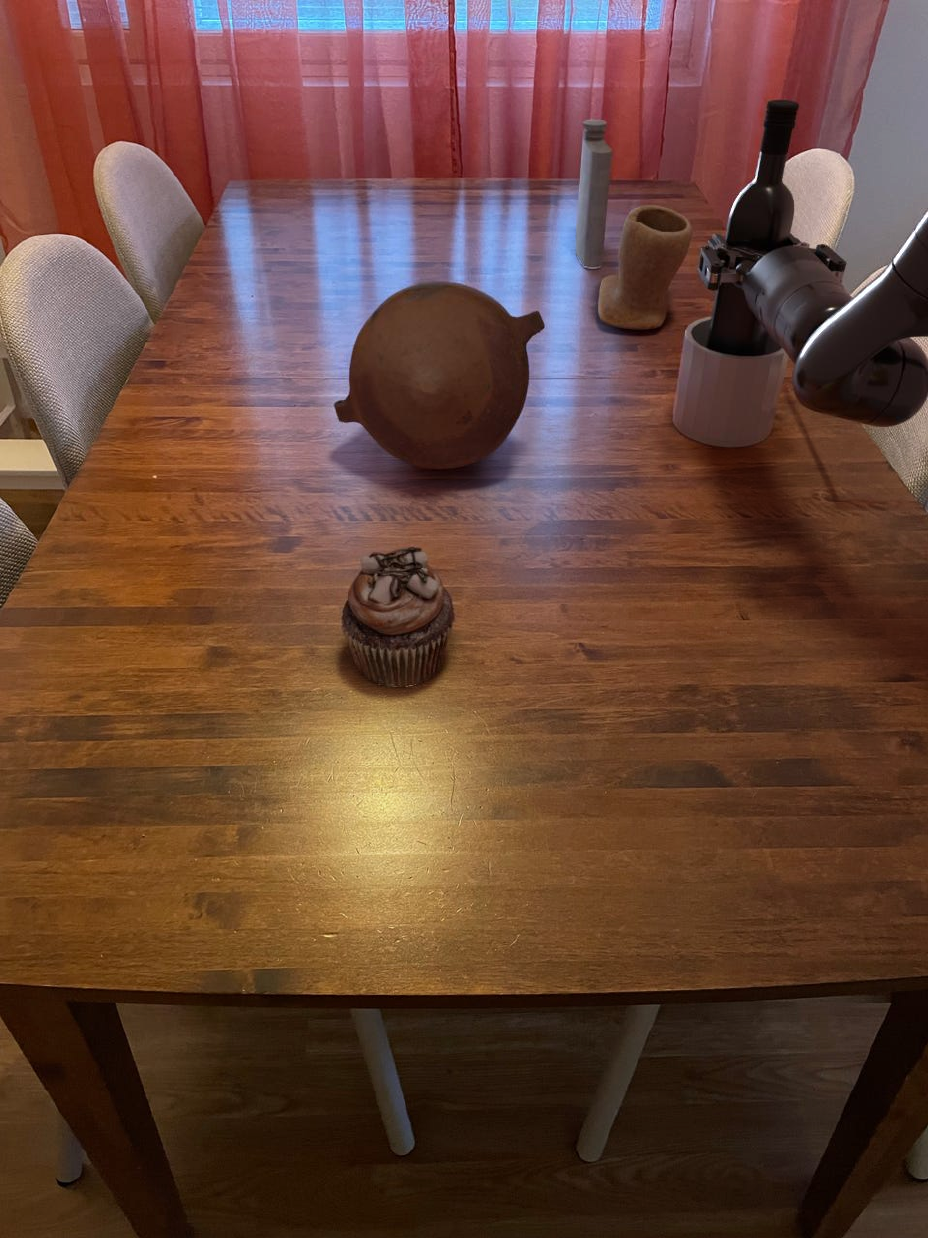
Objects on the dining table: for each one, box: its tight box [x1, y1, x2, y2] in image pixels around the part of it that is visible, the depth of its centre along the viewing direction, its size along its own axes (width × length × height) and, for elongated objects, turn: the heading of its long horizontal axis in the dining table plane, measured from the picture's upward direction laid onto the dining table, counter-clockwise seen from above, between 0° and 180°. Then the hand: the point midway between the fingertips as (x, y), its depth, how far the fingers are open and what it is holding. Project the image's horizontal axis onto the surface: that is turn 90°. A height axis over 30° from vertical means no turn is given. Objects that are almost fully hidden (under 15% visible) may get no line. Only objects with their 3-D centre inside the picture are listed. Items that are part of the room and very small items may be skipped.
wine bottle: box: [706, 99, 800, 356], centre depth 102 cm, size 6×6×30 cm
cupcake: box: [340, 546, 456, 688], centre depth 80 cm, size 10×10×10 cm
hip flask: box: [574, 119, 613, 267], centre depth 152 cm, size 16×4×20 cm, turn 179°
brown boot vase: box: [597, 204, 693, 331], centre depth 134 cm, size 15×12×15 cm
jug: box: [333, 280, 546, 470], centre depth 107 cm, size 20×20×30 cm
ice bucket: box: [671, 315, 790, 448], centre depth 111 cm, size 12×12×11 cm
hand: (749, 242), depth 103 cm, fingers closed on wine bottle, 7 cm apart
